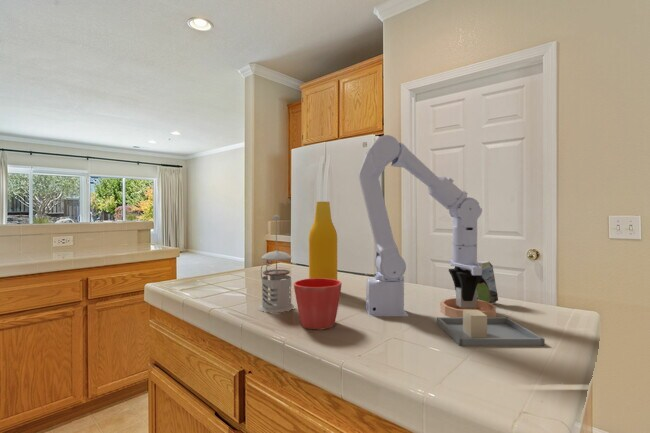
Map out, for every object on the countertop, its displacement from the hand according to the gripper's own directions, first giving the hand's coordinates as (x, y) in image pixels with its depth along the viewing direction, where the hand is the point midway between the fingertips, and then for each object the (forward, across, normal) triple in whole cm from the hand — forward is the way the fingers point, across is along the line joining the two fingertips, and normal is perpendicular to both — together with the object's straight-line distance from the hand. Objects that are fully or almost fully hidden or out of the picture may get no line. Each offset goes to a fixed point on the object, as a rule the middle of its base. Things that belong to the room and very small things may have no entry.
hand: (464, 298), depth 85 cm
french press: (+4, +6, +49) cm, 50 cm away
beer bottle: (+4, +23, +36) cm, 43 cm away
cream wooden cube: (+3, -16, +4) cm, 17 cm away
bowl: (+4, -2, 0) cm, 4 cm away
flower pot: (+4, -8, +37) cm, 38 cm away
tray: (+4, -16, +2) cm, 16 cm away
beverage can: (+4, +9, -9) cm, 13 cm away
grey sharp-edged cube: (+2, 0, 0) cm, 2 cm away
